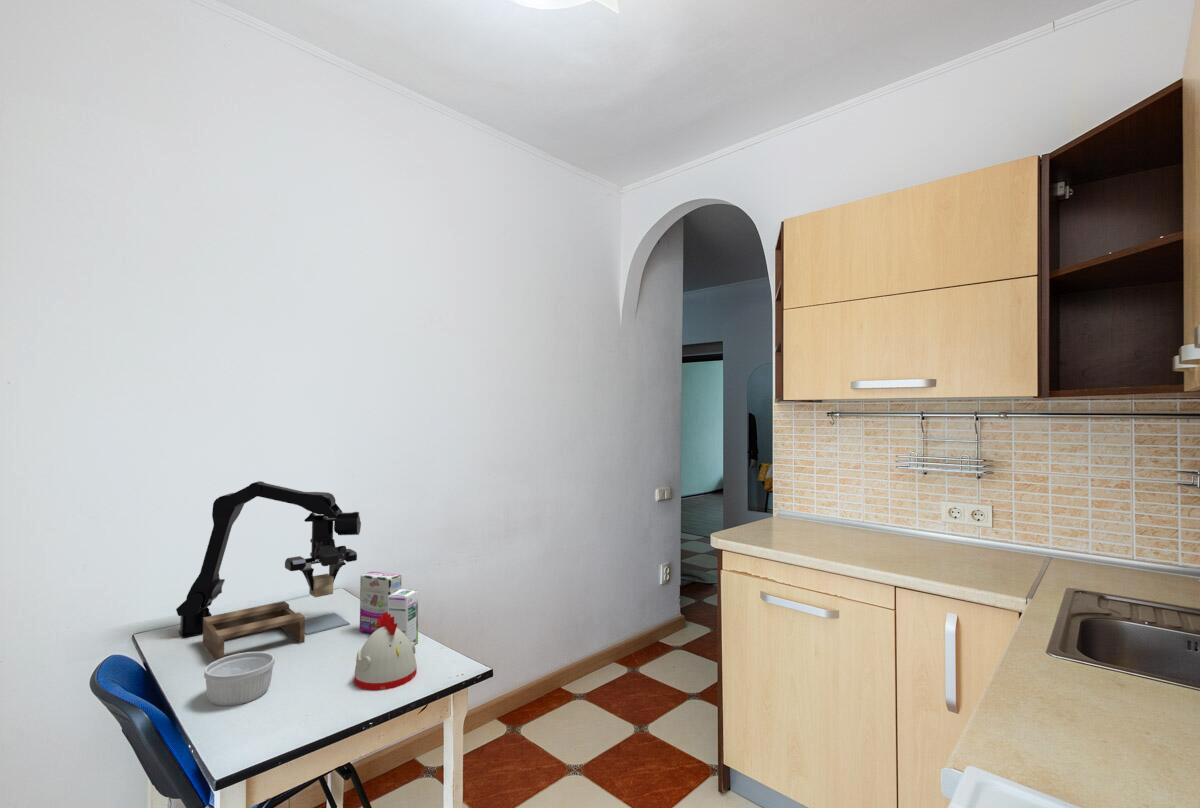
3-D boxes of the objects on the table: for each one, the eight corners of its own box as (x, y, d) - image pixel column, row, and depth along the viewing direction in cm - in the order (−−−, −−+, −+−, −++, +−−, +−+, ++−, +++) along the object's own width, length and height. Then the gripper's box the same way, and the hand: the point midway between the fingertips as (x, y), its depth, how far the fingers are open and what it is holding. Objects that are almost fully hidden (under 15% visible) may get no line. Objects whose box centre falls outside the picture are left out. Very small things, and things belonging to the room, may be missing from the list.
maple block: (315, 597, 165) (315, 580, 165) (309, 593, 169) (309, 576, 169) (333, 593, 169) (333, 576, 169) (326, 590, 172) (327, 573, 172)
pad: (306, 635, 160) (306, 633, 160) (292, 624, 169) (292, 622, 169) (349, 624, 169) (349, 622, 169) (334, 614, 177) (334, 612, 177)
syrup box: (407, 651, 150) (407, 596, 150) (386, 649, 151) (387, 594, 151) (418, 643, 155) (418, 589, 156) (398, 641, 156) (399, 588, 157)
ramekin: (258, 675, 135) (258, 646, 136) (285, 691, 128) (285, 660, 128) (193, 697, 125) (194, 665, 125) (219, 716, 117) (219, 682, 117)
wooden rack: (218, 664, 141) (218, 636, 141) (202, 643, 154) (203, 617, 154) (304, 642, 155) (305, 616, 155) (283, 624, 168) (284, 601, 168)
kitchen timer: (370, 696, 126) (372, 628, 126) (344, 677, 135) (345, 613, 135) (427, 676, 136) (428, 612, 136) (398, 659, 145) (399, 600, 146)
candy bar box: (401, 632, 163) (402, 574, 164) (389, 638, 159) (390, 579, 159) (371, 626, 167) (372, 570, 168) (358, 632, 163) (359, 574, 163)
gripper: (297, 545, 157) (296, 601, 157) (364, 535, 170) (363, 588, 170) (284, 538, 165) (283, 592, 164) (350, 530, 178) (349, 580, 178)
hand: (321, 588), depth 169 cm, fingers closed on maple block, 5 cm apart
